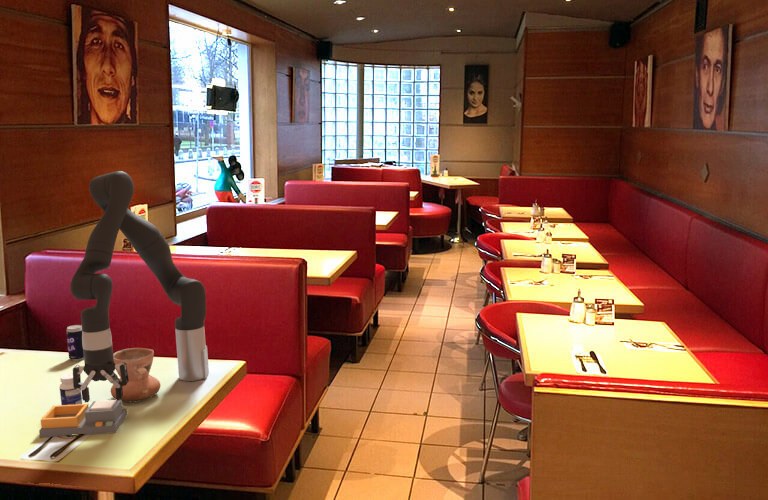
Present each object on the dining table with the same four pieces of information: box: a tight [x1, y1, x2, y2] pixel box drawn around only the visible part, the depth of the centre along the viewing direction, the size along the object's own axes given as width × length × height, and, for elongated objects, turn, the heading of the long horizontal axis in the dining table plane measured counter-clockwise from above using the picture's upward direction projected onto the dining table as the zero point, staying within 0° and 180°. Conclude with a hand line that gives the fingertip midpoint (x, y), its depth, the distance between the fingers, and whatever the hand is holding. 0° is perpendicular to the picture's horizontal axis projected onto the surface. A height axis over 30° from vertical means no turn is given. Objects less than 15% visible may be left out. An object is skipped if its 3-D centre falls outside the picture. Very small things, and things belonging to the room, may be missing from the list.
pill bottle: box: [59, 372, 83, 405], centre depth 210 cm, size 6×6×10 cm
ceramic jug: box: [110, 347, 161, 403], centre depth 217 cm, size 18×14×14 cm
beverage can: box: [65, 324, 84, 362], centre depth 254 cm, size 6×6×12 cm
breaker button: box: [90, 399, 116, 411], centre depth 198 cm, size 5×5×4 cm
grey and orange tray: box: [38, 399, 128, 438], centre depth 197 cm, size 20×12×6 cm, turn 95°
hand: (103, 400), depth 197 cm, fingers open, 8 cm apart
